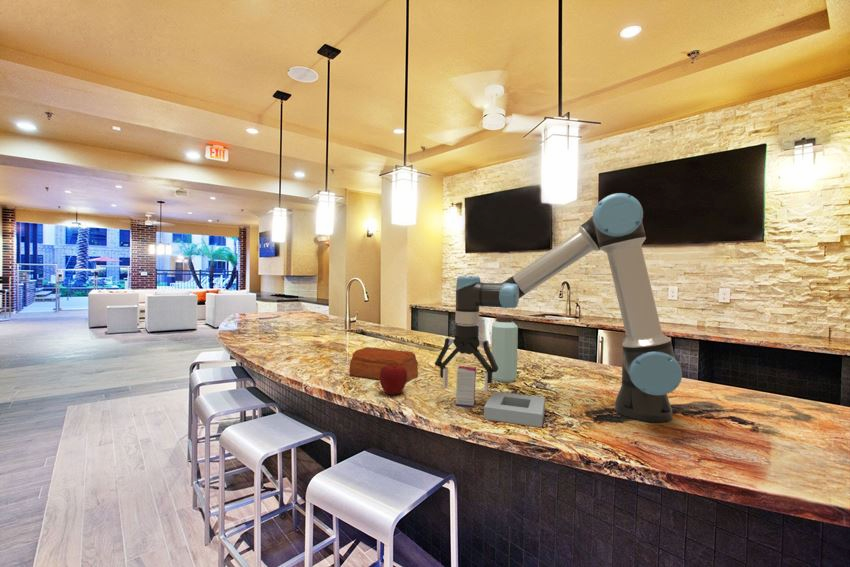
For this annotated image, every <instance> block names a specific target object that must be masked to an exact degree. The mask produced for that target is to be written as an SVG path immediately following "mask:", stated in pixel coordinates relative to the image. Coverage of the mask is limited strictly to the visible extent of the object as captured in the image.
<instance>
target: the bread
mask: <svg viewBox="0 0 850 567" xmlns="http://www.w3.org/2000/svg"><path fill="white" fill-rule="evenodd" d="M391 364H394V365H395V364H396V365H401V366H403V367H404V368H405V369H406V371H407V381H406V383H408V382H411V381H412V380H414V379H415V380H416V379H417V378H418V376H419V375H418V374H419V368H418V364H419V362H418V360H417V356H416V354H415V353H414V352H413V351H407V350H396V349H389V348H379V347H371V346H370V347H369V346H366V347H363V348H359V349H356V350H355V351H354V352H353V353H352V357H351V359H350V362H349V368H348V370H349V372H348V373H349V375H350V376H352V377H358V378H365V379H366V378H367V379H373V380H374V379H375V380H378V381H380V371H381V369H382V367H384V366H385V365H391Z"/></svg>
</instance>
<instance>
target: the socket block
mask: <svg viewBox="0 0 850 567" xmlns="http://www.w3.org/2000/svg"><path fill="white" fill-rule="evenodd" d="M545 411H546V397H544V396H535V395H527V394H517V393H511V392H503V391H493V392H492V393H491V395H490V397H489V398H488V399H487V401H486V403H485V405H484V406H483V420H488V421H495V422H502V423H509V424H516V425H523V426H531V427H535V428H536V427H538V428H542V427H543V422H544V417H545Z"/></svg>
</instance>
